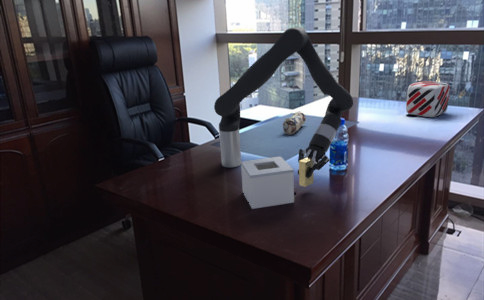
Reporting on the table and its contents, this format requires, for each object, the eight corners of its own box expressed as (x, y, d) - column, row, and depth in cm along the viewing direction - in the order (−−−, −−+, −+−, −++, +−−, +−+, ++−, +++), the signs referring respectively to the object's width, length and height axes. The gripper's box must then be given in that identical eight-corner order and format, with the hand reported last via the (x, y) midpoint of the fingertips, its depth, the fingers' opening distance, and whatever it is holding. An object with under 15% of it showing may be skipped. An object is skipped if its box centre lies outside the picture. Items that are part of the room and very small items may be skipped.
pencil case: (296, 135, 227) (296, 118, 224) (282, 134, 231) (281, 118, 228) (306, 125, 246) (306, 110, 243) (293, 124, 250) (292, 109, 246)
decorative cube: (418, 109, 269) (421, 79, 263) (449, 113, 255) (452, 82, 248) (403, 114, 258) (405, 83, 251) (433, 119, 243) (437, 86, 236)
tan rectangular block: (299, 184, 155) (298, 160, 151) (307, 180, 158) (307, 157, 155) (305, 187, 153) (305, 162, 149) (313, 182, 156) (313, 158, 152)
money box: (242, 192, 158) (240, 161, 154) (281, 186, 162) (280, 156, 157) (252, 208, 144) (250, 175, 140) (294, 202, 148) (293, 169, 143)
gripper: (304, 129, 159) (284, 167, 155) (334, 136, 149) (313, 176, 145) (312, 139, 164) (293, 175, 160) (342, 146, 154) (322, 185, 150)
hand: (303, 175), depth 153 cm, fingers closed on tan rectangular block, 3 cm apart
